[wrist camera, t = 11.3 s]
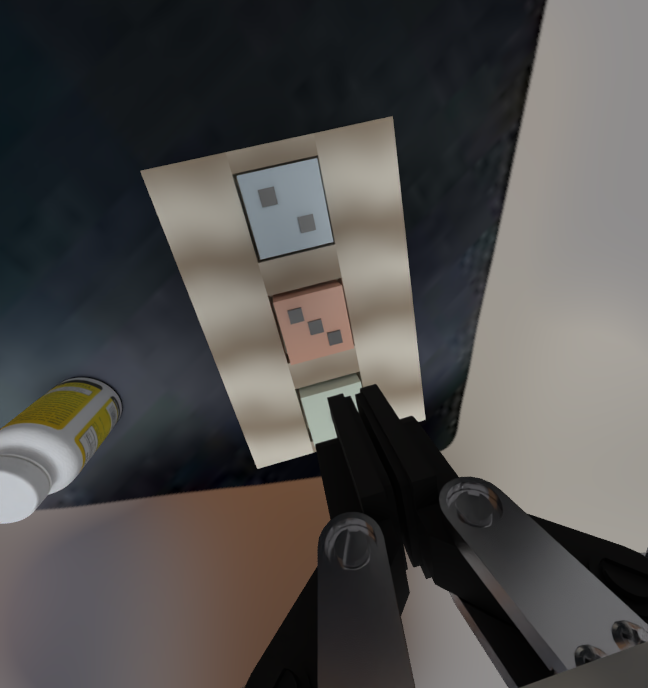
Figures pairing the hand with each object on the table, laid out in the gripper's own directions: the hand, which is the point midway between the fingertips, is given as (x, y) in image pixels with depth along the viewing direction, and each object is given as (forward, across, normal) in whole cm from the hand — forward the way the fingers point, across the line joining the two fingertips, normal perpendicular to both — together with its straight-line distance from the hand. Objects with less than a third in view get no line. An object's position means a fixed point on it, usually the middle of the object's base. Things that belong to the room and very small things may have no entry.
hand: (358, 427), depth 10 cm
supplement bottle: (+18, +20, +4) cm, 27 cm away
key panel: (+17, 0, +1) cm, 17 cm away
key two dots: (+16, 0, -7) cm, 18 cm away
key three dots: (+16, 0, +1) cm, 16 cm away
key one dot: (+16, 0, +9) cm, 18 cm away
